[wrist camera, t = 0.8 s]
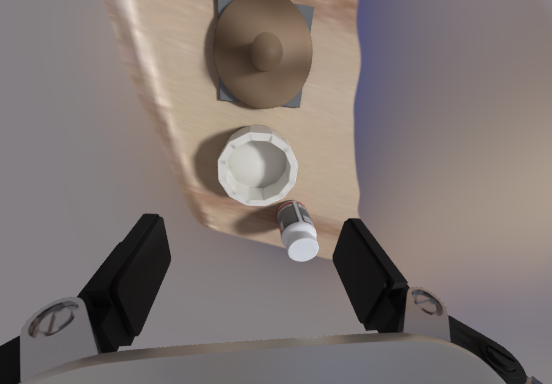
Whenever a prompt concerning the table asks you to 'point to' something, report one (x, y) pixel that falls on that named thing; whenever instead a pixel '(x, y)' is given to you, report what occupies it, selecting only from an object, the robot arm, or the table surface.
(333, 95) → the table surface
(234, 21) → the lid
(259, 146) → the bowl
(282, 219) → the pill bottle
